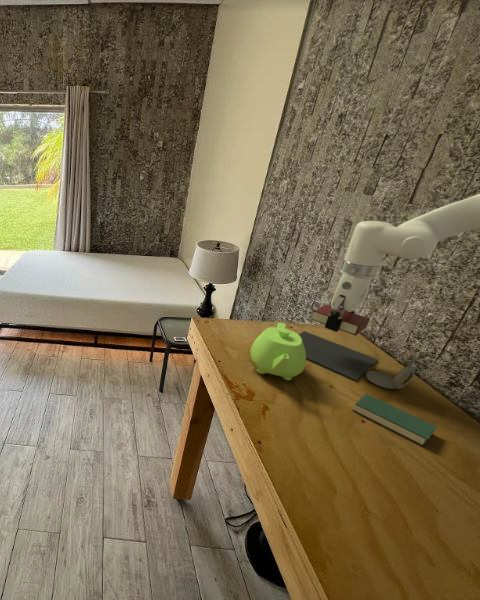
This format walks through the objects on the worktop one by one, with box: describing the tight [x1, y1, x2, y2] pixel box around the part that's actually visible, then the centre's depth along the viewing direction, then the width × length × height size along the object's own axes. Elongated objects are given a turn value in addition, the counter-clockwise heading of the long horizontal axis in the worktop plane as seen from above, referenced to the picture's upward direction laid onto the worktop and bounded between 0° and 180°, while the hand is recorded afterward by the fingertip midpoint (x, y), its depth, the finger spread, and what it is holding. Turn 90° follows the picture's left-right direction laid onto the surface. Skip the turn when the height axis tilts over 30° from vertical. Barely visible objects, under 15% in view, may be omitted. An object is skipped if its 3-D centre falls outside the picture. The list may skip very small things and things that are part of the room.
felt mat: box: [298, 330, 379, 382], centre depth 97 cm, size 20×16×1 cm
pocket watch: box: [365, 358, 418, 390], centre depth 82 cm, size 8×8×10 cm
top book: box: [311, 304, 371, 336], centre depth 92 cm, size 11×7×3 cm
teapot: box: [249, 321, 307, 381], centre depth 88 cm, size 20×13×13 cm
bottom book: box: [352, 393, 438, 448], centre depth 72 cm, size 12×6×2 cm, turn 33°
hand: (337, 325), depth 92 cm, fingers closed on top book, 7 cm apart
